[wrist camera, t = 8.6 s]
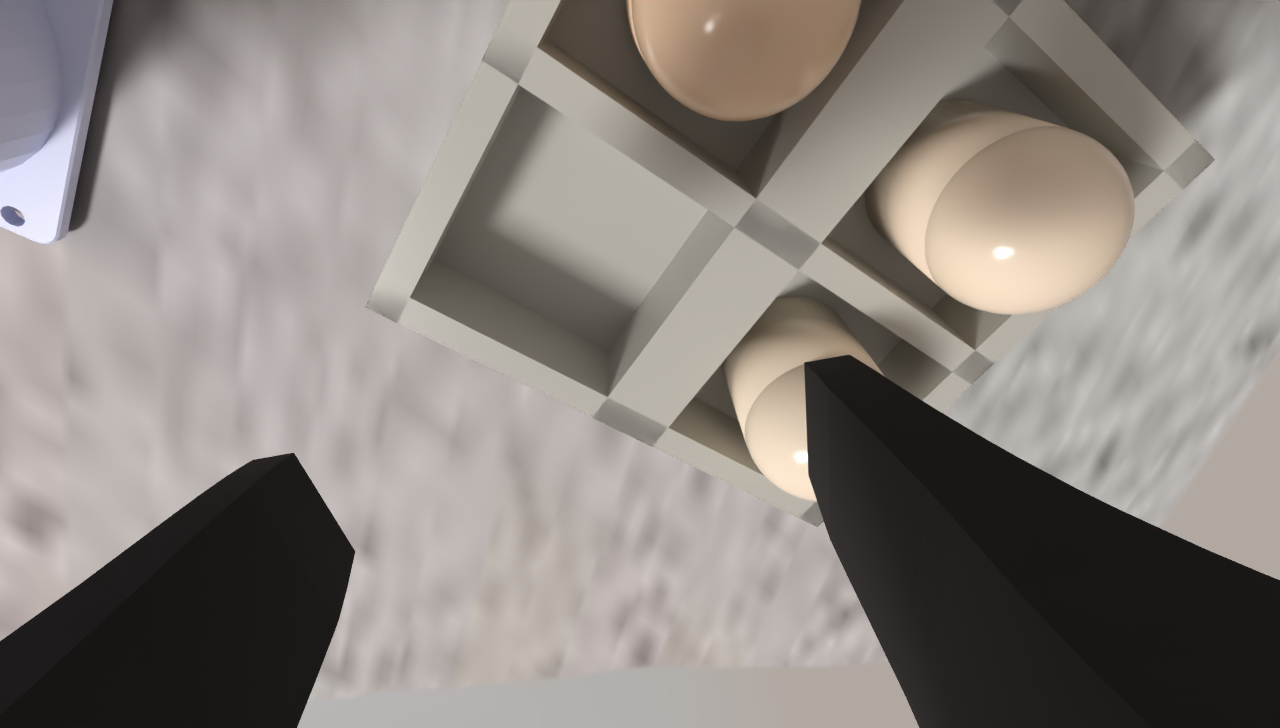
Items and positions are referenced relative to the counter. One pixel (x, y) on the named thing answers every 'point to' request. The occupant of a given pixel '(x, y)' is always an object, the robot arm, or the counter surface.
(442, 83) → the counter surface
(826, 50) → the egg
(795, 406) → the pale egg
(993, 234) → the pale egg
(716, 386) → the carton
